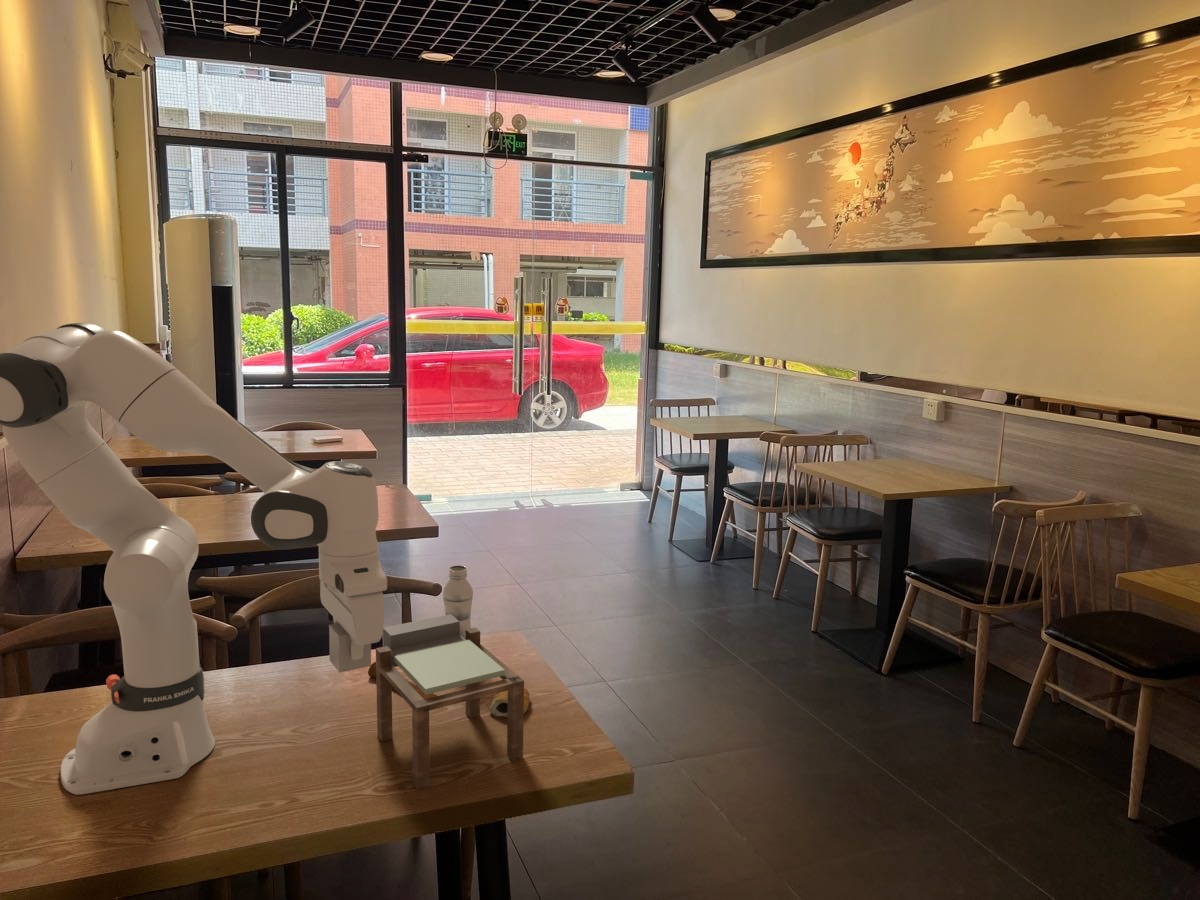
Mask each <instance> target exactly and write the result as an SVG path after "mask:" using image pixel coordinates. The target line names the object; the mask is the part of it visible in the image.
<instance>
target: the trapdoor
mask: <svg viewBox="0 0 1200 900" xmlns="http://www.w3.org/2000/svg"><path fill="white" fill-rule="evenodd" d="M385 646H387V647H388V648H389V649H390V650H391V664H392V665H393V666H394V667H395V668H396V667H399V668H400V670H402V671H403V673H404V674H405V675H406V676H407V677H408V678H409V679H410V680H411V681H412V683H413V684H415V685H417V686H418V687H419V688H420V690H421V691H422V692H423V693H424V694H425V695H427V694H431V693H433V694H435V693H439V692H443V691H446V690H451V689H455V688H458V687H463V686H466V685H468V684H472V683H476V682H480V683H481V682H483V681H487V680H491V679H495V678H498V677H499V678H500V676H504V675H505V670H504V669H503V668H502V667H501V666H500V665H498V664H497V663H496V662H495V661H494V660H493V659H491V658H490V657H489V656H488V655H487V654H485V653H484V652H483V651H482V650H481V649H479V648H478V647H477V646H476V645H475V644H474V643H472V642H471V641H470V640H466V639H464V638H463V637H462V636H461V635H460V621H458V620H457V619H456V618H455V617H453V616H452V615H451V614H450V615H445V614H444V615H440V616H436V617H430V618H426V619H425V618H424V619H420V620H414V621H410V622H404V623H399V624H395V625H394V624H393V625H389V626H383V634H382V647H385Z"/></svg>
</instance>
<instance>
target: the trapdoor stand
mask: <svg viewBox="0 0 1200 900" xmlns="http://www.w3.org/2000/svg"><path fill="white" fill-rule="evenodd" d="M466 640H470V641H471V642H472V643H474V644H475V645H476V646H477V647H478V648H479V649H481V650H482V651H483V652H484V653H485V654H487V655H488V656H489V657H490V658H491V659H493V660H494V661H495V662H496V663H497V664H498V665H500V666H501V667H502V668H503V669H504V670H505V675H504V676H500V677H499V678H500V680H497V681H492V682H489V683H485V684H484V683H483V684H481V681H480V682H476V683H472V684H468V685H465V688H464V689H460V690H457V691H453V692H452V691H451V692H449V693H445V694H441V695H437V696H436V697H432V698H428V699H423V698H422V697H421V696H420V694H419V693H418V692H417V691H416V690H415V689H414V688H413V687H412V686H411V685H410V684H409V683H408V681H409V680H408V679H406V677H404V675H402V674H401V673H400V671H399V670H397V668H396V667H394V666H393V665H392V664H391V650H390V649H389V648H388V647H387V646H385V647H383V646H380V647H376V648H375V662H376V678H375V679H376V724H377V725H376V727H377V728H376V729H377V732H376V734H377V737H378V740H380V742H385V741H389V740H392V739H393V688H392V686H393V687H394V688H395V689H396V690H395V691H396V692H397V693H398V694H399V696H401V698H403V700H404V701H405V702H406V703H407V705H409V707H410V708H411V711H412V712H411V715H412V716H411V721H412V725H411V726H412V728H411V729H412V732H411V733H412V784H413V785H414V787H415V788H416V789H417V791H418V790H420V789H421V790H422V789H424V788H428V787H430V785H431V784H430V781H431V780H430V778H431V777H430V772H431V771H430V769H431V768H430V764H431V763H430V762H431V761H430V711H433V710H436V709H440V708H445V707H449V706H452V705H457V704H460V703H465V714H466V715H467V716H468V717H469V718H473V717H477V716H481V698H484V697H487V696H492V695H494V694H495V695H496V694H498V693H499V692H503V691H507V690H508V712H507V717H506V718H507V719H506V720H507V723H506V724H507V725H506V727H507V731H506V733H507V734H506V736H507V737H506V738H507V739H506V742H507V743H506V756H508V758H510V760H512V761H515V760H518V758H519V759H521V757H522V758H524V719H525V716H524V715H525V714H524V689H525V680H524V679H523V678H522V677H521V676H520V675H518V674H517V673H515V671H513V670H512V669H511V668H510V667H509V666H507V665H506V664H505V663H504V662H502V661H501V660H500V659H499V658H498V657H496V656H495V655H494V654H493V653H492V652H490V650H488V649H487V648H485V647H484V645H482V644H481V631H480V629H478V627H476V626H475V627H471V628H470V629H466Z"/></svg>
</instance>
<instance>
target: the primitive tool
mask: <svg viewBox="0 0 1200 900" xmlns="http://www.w3.org/2000/svg"><path fill="white" fill-rule="evenodd" d="M368 668H369V669H368V671H367V675H368V677H370V678H372V679H376V661H374V662H371V666H369V667H368ZM407 681H408V683H409V684H410V685H411V686H412V687H413V688H414V689H415V690H416V691H417V692H418V693H419V694H420V696H421V697H422V698H423V699H428V698H432V697H436V696H438V695H437V694H435V693H431V694H427V695H425V694H424V693H423V692H422V691H421V690H420V688H419V687H418V686H417V685H416V684H415V683H414V682H411V681H409V680H407ZM392 690H394V691H396V689H395V688H394V687H393V686H392Z"/></svg>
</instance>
